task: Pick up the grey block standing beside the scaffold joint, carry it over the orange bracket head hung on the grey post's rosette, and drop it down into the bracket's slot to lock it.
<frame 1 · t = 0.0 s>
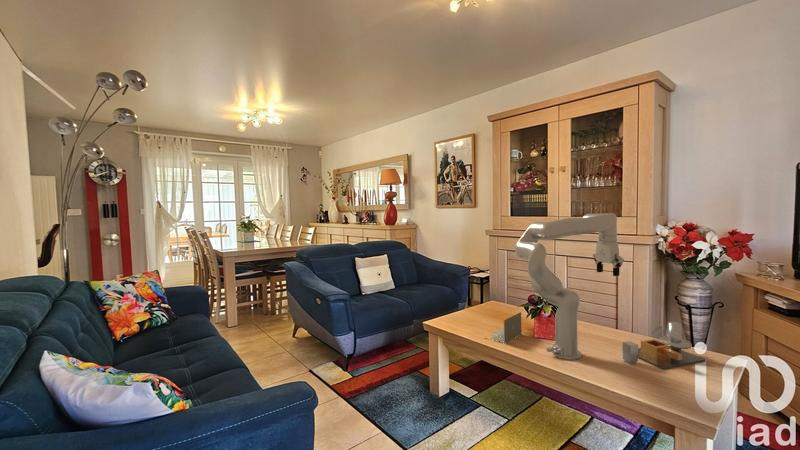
hand: (607, 273, 169), 37 cm above the table, tool pointing down, fingers open, 9 cm apart
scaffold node: (655, 358, 158), on the table
grey block: (630, 362, 155), on the table
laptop: (503, 337, 191), on the table
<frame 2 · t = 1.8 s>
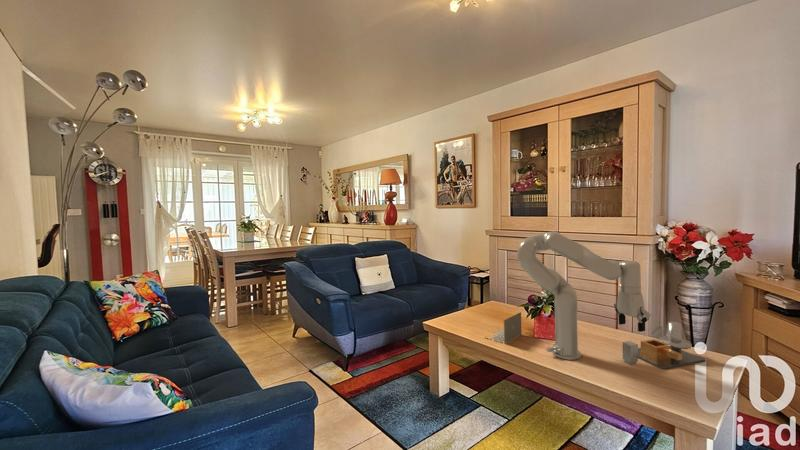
hand: (631, 327, 154), 16 cm above the table, tool pointing down, fingers open, 9 cm apart
nothing on the table moved.
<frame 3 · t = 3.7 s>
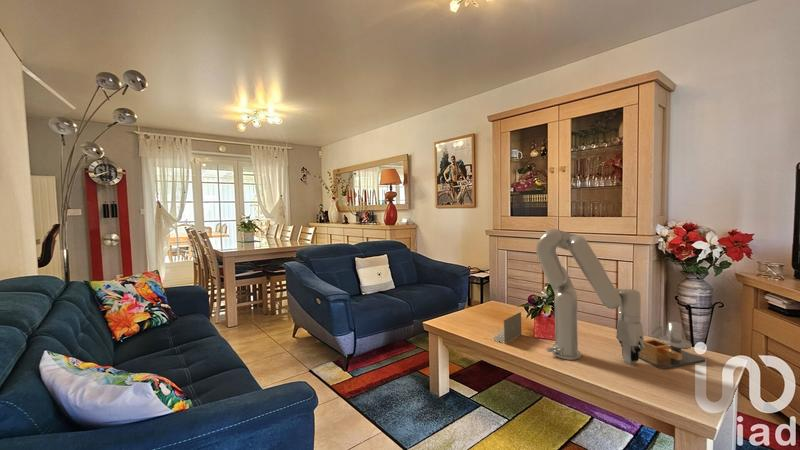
hand: (630, 357, 155), 2 cm above the table, tool pointing down, fingers closed on grey block, 4 cm apart
grey block: (630, 362, 155), on the table, touching gripper
everything else where it was.
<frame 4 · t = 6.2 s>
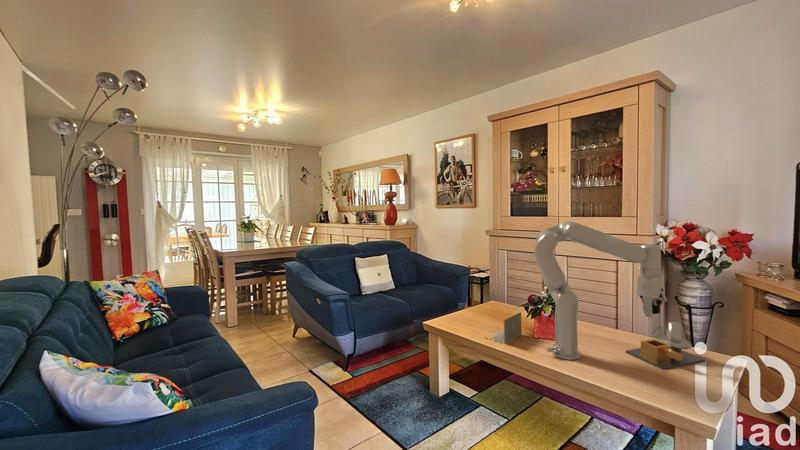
hand: (651, 311, 156), 22 cm above the table, tool pointing down, fingers closed on grey block, 4 cm apart
grey block: (651, 316, 156), point 20 cm above the table, touching gripper
everything else where it was.
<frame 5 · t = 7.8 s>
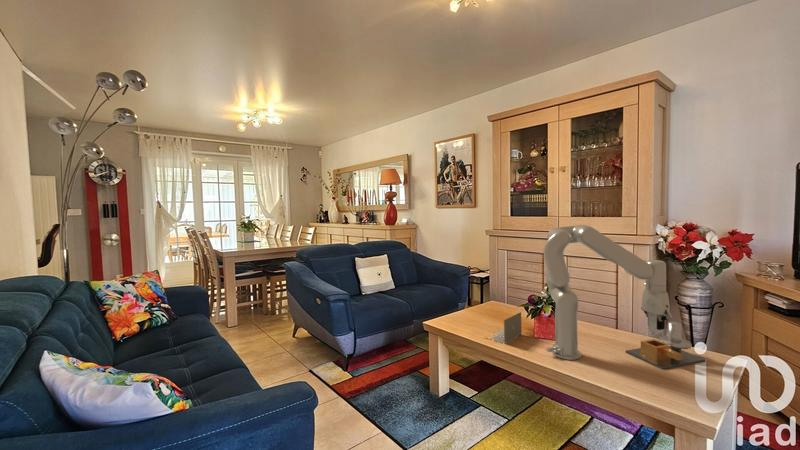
hand: (656, 327, 157), 14 cm above the table, tool pointing down, fingers closed on grey block, 4 cm apart
grey block: (656, 332, 157), point 12 cm above the table, touching gripper
everything else where it was.
when the fingers open (9 cm above the table, at t = 9.1 s): grey block drops 5 cm, resting on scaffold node.
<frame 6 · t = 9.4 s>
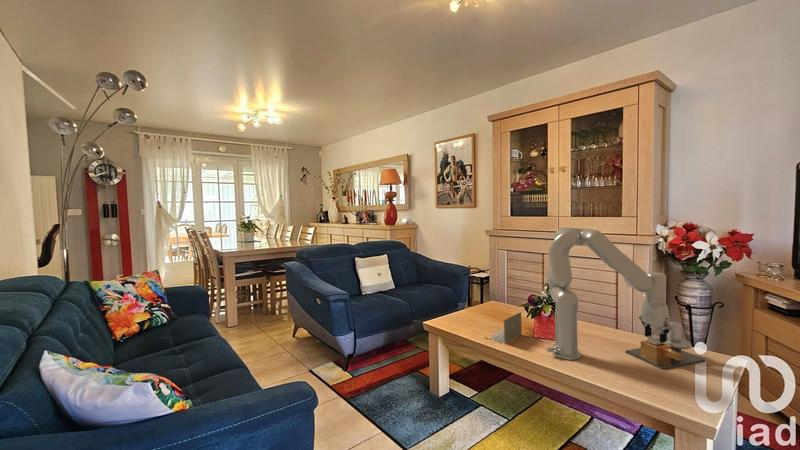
hand: (655, 338, 157), 9 cm above the table, tool pointing down, fingers open, 6 cm apart
grey block: (655, 356, 158), point 1 cm above the table, touching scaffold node
everything else where it was.
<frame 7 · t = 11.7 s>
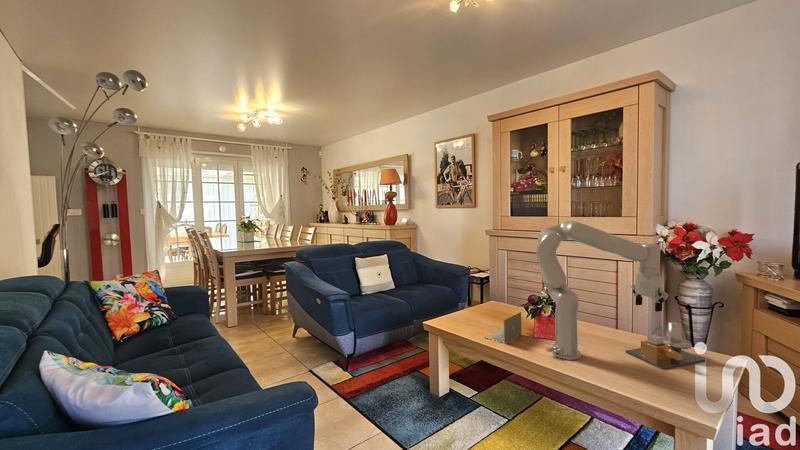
hand: (648, 308, 158), 23 cm above the table, tool pointing down, fingers open, 9 cm apart
nothing on the table moved.
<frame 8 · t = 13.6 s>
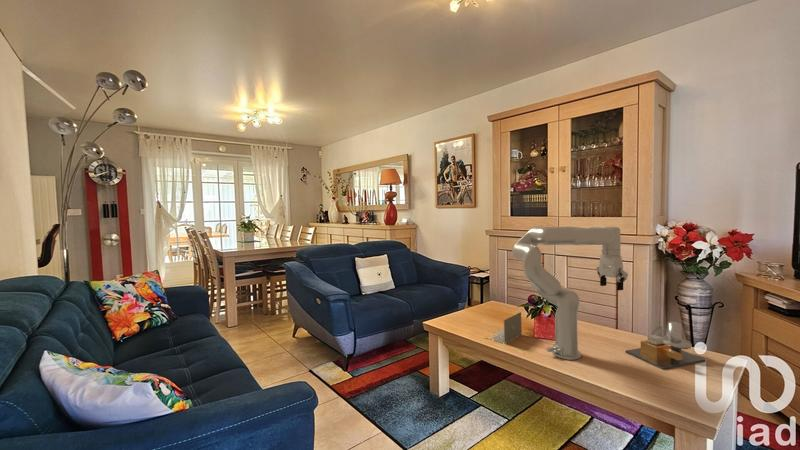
hand: (611, 287, 168), 30 cm above the table, tool pointing down, fingers open, 9 cm apart
nothing on the table moved.
at the end: grey block 0.0 cm off-centre on the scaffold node, point 1.0 cm above the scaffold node's base; grey block tilted 0°; the gripper is holding nothing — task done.
